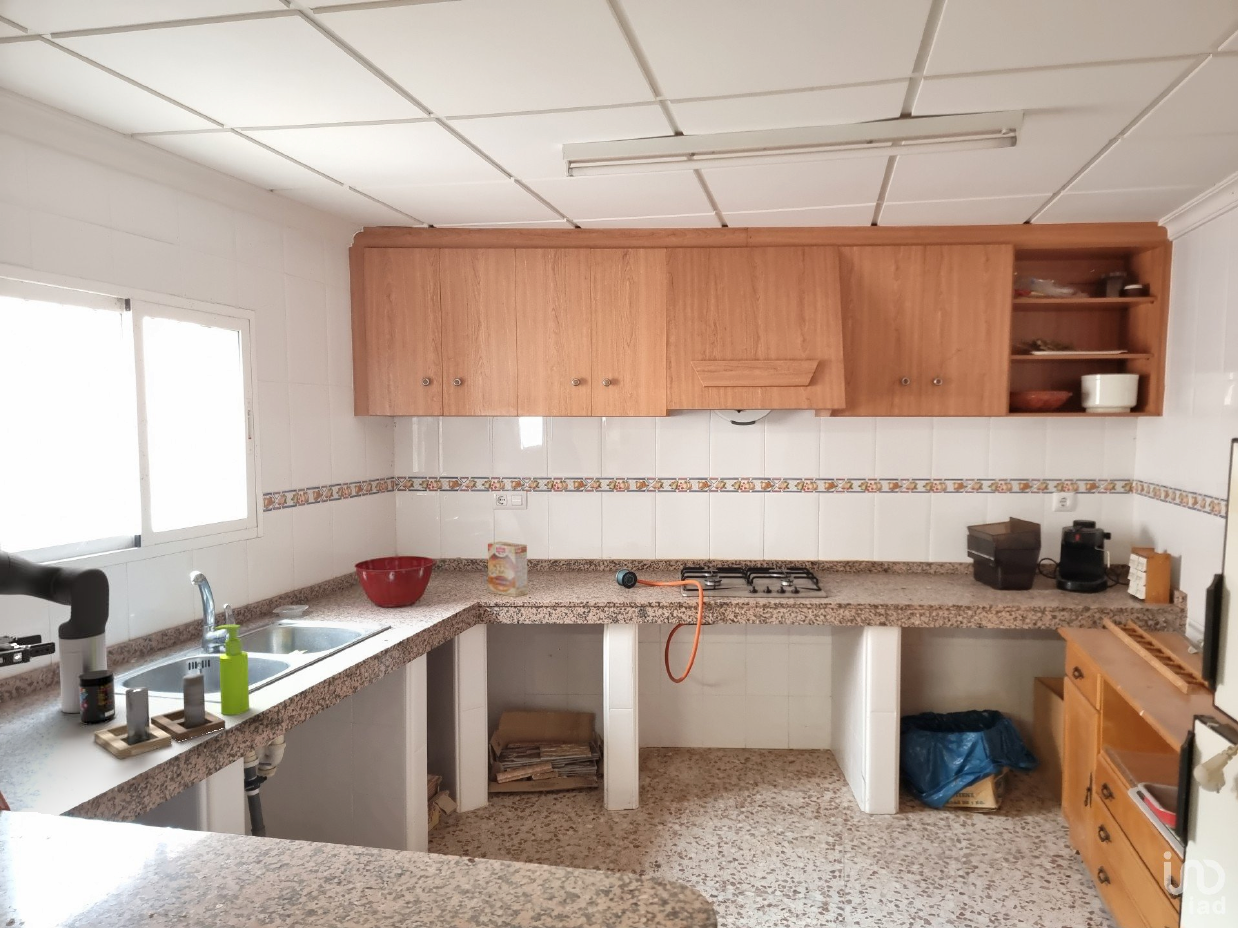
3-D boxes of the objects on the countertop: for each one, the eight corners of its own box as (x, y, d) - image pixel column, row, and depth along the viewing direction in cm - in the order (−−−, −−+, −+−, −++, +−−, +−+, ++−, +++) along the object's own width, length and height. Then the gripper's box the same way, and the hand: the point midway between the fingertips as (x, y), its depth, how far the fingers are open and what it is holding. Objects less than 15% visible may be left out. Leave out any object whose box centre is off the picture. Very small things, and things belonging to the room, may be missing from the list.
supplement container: (95, 713, 186) (93, 669, 185) (122, 714, 185) (121, 670, 185) (72, 724, 179) (70, 678, 178) (101, 725, 178) (99, 679, 178)
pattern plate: (151, 725, 178) (149, 671, 178) (195, 713, 186) (194, 661, 185) (179, 741, 169) (177, 685, 168) (225, 728, 176) (223, 674, 176)
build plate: (94, 740, 170) (94, 731, 170) (143, 727, 177) (143, 718, 177) (120, 758, 160) (120, 750, 160) (171, 744, 168) (171, 735, 168)
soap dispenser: (225, 705, 190) (222, 622, 189) (253, 706, 190) (251, 622, 189) (211, 714, 185) (208, 628, 183) (241, 715, 184) (238, 628, 183)
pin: (124, 747, 166) (122, 690, 166) (145, 741, 169) (143, 685, 169) (132, 752, 164) (129, 694, 163) (153, 746, 167) (151, 689, 166)
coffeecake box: (487, 592, 316) (486, 543, 315) (500, 589, 321) (500, 540, 320) (515, 597, 307) (514, 546, 306) (528, 594, 312) (527, 544, 311)
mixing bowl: (400, 615, 278) (399, 571, 277) (338, 608, 290) (337, 565, 290) (450, 599, 304) (450, 558, 303) (391, 593, 316) (390, 553, 315)
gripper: (-54, 648, 136) (58, 629, 149) (-72, 634, 146) (35, 617, 158) (-52, 692, 137) (60, 669, 149) (-70, 675, 146) (37, 655, 158)
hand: (47, 642), depth 154 cm, fingers open, 8 cm apart
